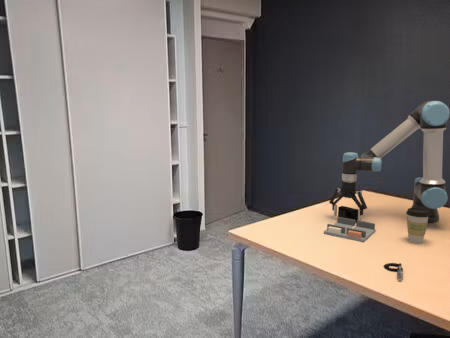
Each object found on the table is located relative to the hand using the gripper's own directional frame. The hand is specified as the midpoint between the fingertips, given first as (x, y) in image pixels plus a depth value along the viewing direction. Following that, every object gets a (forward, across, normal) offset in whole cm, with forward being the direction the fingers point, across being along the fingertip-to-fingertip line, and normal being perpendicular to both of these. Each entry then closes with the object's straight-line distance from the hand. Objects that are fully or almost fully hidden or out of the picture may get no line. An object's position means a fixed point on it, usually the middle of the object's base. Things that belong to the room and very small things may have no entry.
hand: (346, 218), depth 212 cm
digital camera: (+1, 0, 0) cm, 1 cm away
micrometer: (+2, +37, -52) cm, 64 cm away
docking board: (+1, +8, -18) cm, 20 cm away
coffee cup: (+1, +37, -11) cm, 39 cm away
